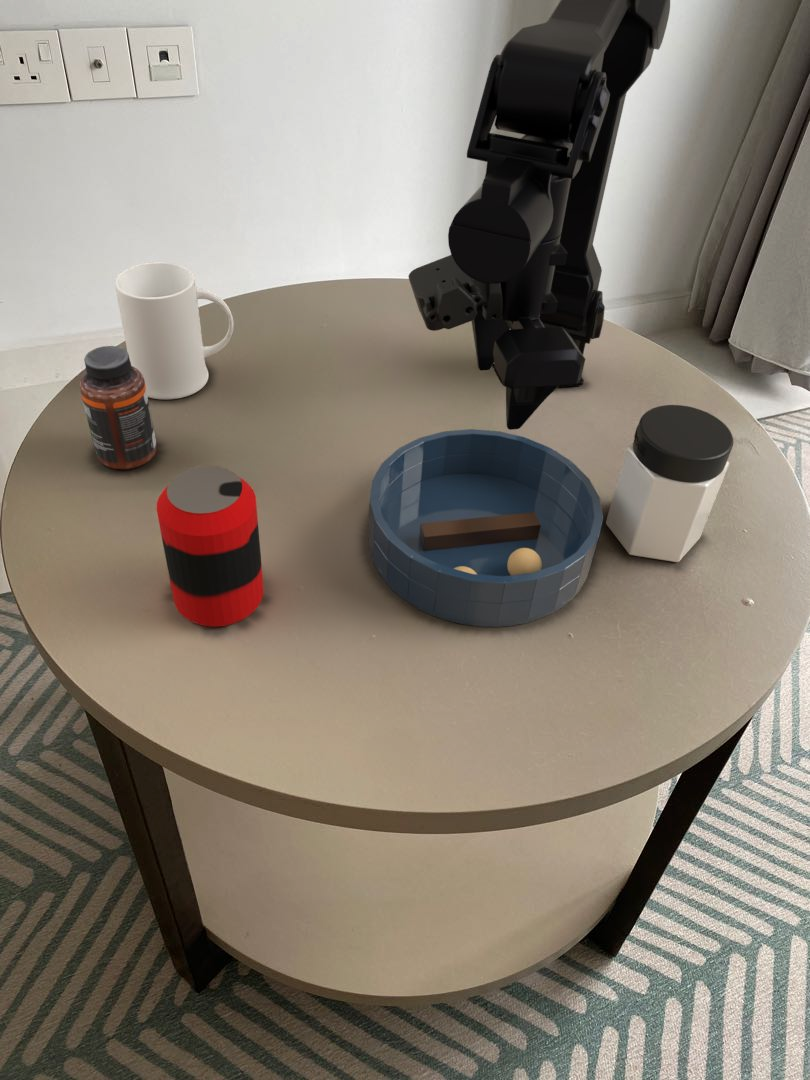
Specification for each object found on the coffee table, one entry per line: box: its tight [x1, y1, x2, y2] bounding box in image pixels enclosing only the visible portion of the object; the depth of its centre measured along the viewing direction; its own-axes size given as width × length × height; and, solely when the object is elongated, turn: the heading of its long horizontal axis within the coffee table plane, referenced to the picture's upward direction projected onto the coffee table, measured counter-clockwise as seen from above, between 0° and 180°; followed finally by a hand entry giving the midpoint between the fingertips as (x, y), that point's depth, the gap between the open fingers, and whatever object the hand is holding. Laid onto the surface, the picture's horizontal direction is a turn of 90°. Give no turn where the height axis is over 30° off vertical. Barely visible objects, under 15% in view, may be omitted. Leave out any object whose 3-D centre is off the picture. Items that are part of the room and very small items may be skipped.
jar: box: [605, 404, 734, 563], centre depth 79 cm, size 9×8×12 cm
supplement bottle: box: [79, 345, 158, 470], centre depth 84 cm, size 6×6×11 cm
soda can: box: [155, 465, 265, 628], centre depth 70 cm, size 8×8×12 cm
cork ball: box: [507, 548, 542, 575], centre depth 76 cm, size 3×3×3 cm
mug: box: [114, 261, 235, 401], centre depth 94 cm, size 12×8×12 cm
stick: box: [419, 512, 541, 551], centre depth 80 cm, size 11×2×2 cm, turn 102°
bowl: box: [367, 428, 604, 628], centre depth 79 cm, size 21×21×6 cm
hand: (498, 397), depth 77 cm, fingers open, 9 cm apart
